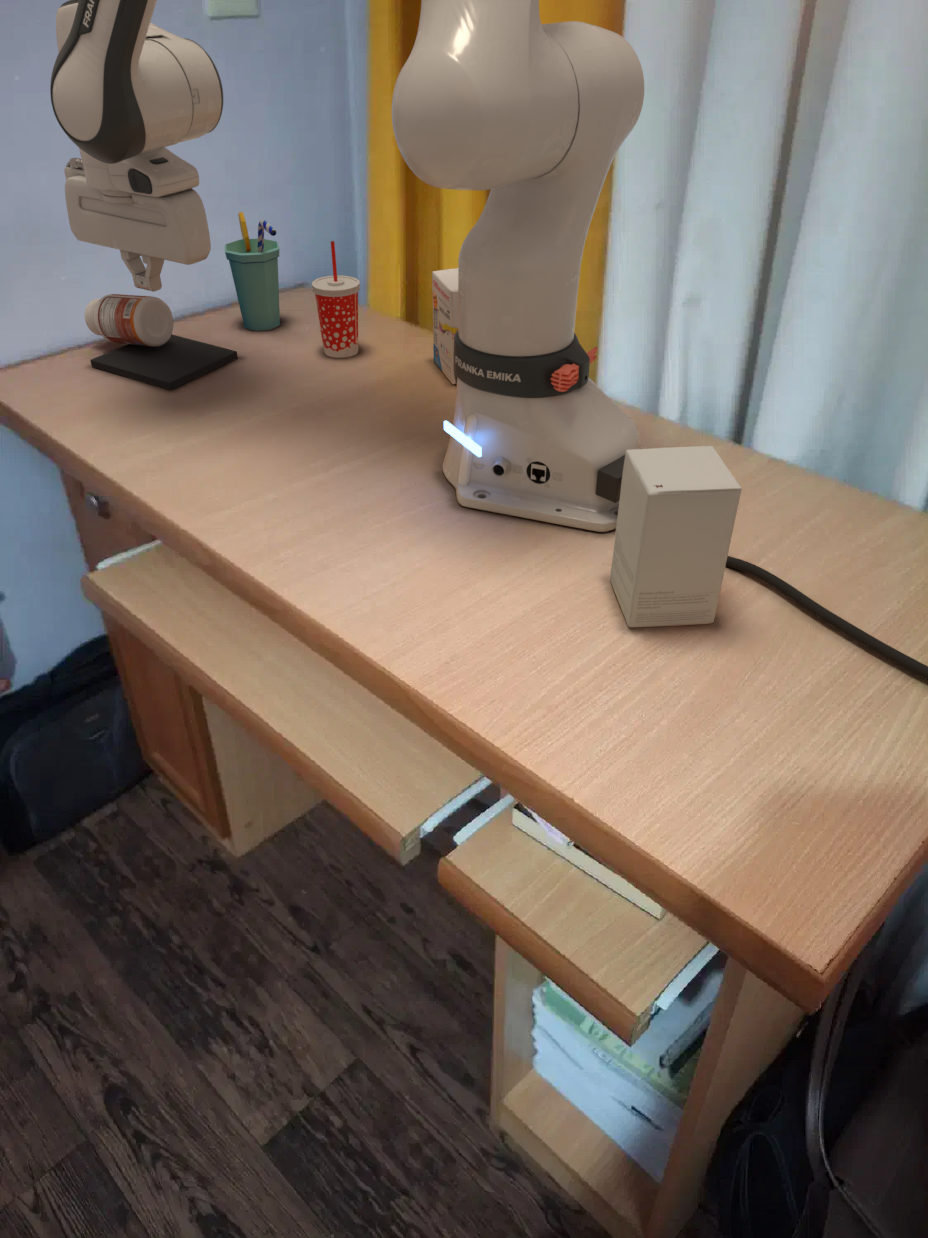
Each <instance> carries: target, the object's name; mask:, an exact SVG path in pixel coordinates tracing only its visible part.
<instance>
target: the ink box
mask: <svg viewBox="0 0 928 1238" xmlns="http://www.w3.org/2000/svg"><path fill="white" fill-rule="evenodd" d="M431 279H432V280H431V281H432V285H431V286H432V322H433V323H432V327H433V328H432V339H433V342H432V343H433V344H432V345H433V346H432V347H433V362H434V363H435V364H436V366H437V367H438V368H439V369H440V371H441V372H442V373H443V374H444V376H445V377H446V379H448V381H449V382H450V383H451V384H452V385H456V382H455V377H454V336H455V333H456V332H457V331H458V267H455V268H448V269H447V268H446V269H439V270H433V271H431Z"/></svg>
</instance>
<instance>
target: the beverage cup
mask: <svg viewBox="0 0 928 1238" xmlns="http://www.w3.org/2000/svg"><path fill="white" fill-rule="evenodd" d="M330 250H331V264H332V275H326V276H322V277H321V276H320V277H319V278H315V279H314V280H313V281H312V282H311V289H312V292H313V293H314V296H315V297H314V298H315V303H316V309H317V315H318V321H319V328H320V336H321V341H322V348H323V353H324V355H326V356H327V357H329V358H333V359H334V358H336V359H343V358H344V359H345V358H350V357H354V356H356V355H357V354H358V353H359V291H361V290H360V289H361V288H360V287H361V282H360V280H359V279H358V278H357V277H353V276H349V275H339V274H338V269H337V257H336V244H335V240H331V241H330Z"/></svg>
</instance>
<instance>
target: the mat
mask: <svg viewBox="0 0 928 1238" xmlns="http://www.w3.org/2000/svg"><path fill="white" fill-rule="evenodd" d="M238 359H239V356H238V351H237V350H234V349H229V348H226V347H222V346H218V345H214V344H210V343H206V342H202V341H199V340H195V339H191V338H188V337H183V336H180V335H176V334H172V335H171V337H170V339H169V340H168V341H167V342H166V343H165V344H163V345H161V346H157V347H152V346H142V345H132V344H124V345H123V346H120V347H118V348H116V349H113V350H111V351H109V352H105V353H103V354H101V355H98V356H96V357H94V358H91V359H90V361H89V362H90V364H91V367H92V368H94V369H97V370H101V371H105V372H108V373H110V374H114V375H118V376H121V377H124V378H128V379H130V380H134V381H138V382H141V383H145V384H149V385H152V386H155V387H158V388H161V389H166V390H169V391H173V390H175V389H177V388H179V387H181V386H183V385H185V384H187V383H189V382H192V381H194V380H196V379H199V378H200V377H202V376H204V375H206V374H208V373H210V372H213V371H214V370H216V369H219V368H221V367H223V366H225V365H227V364H229V363H232V362H234V361H235V360H238Z"/></svg>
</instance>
